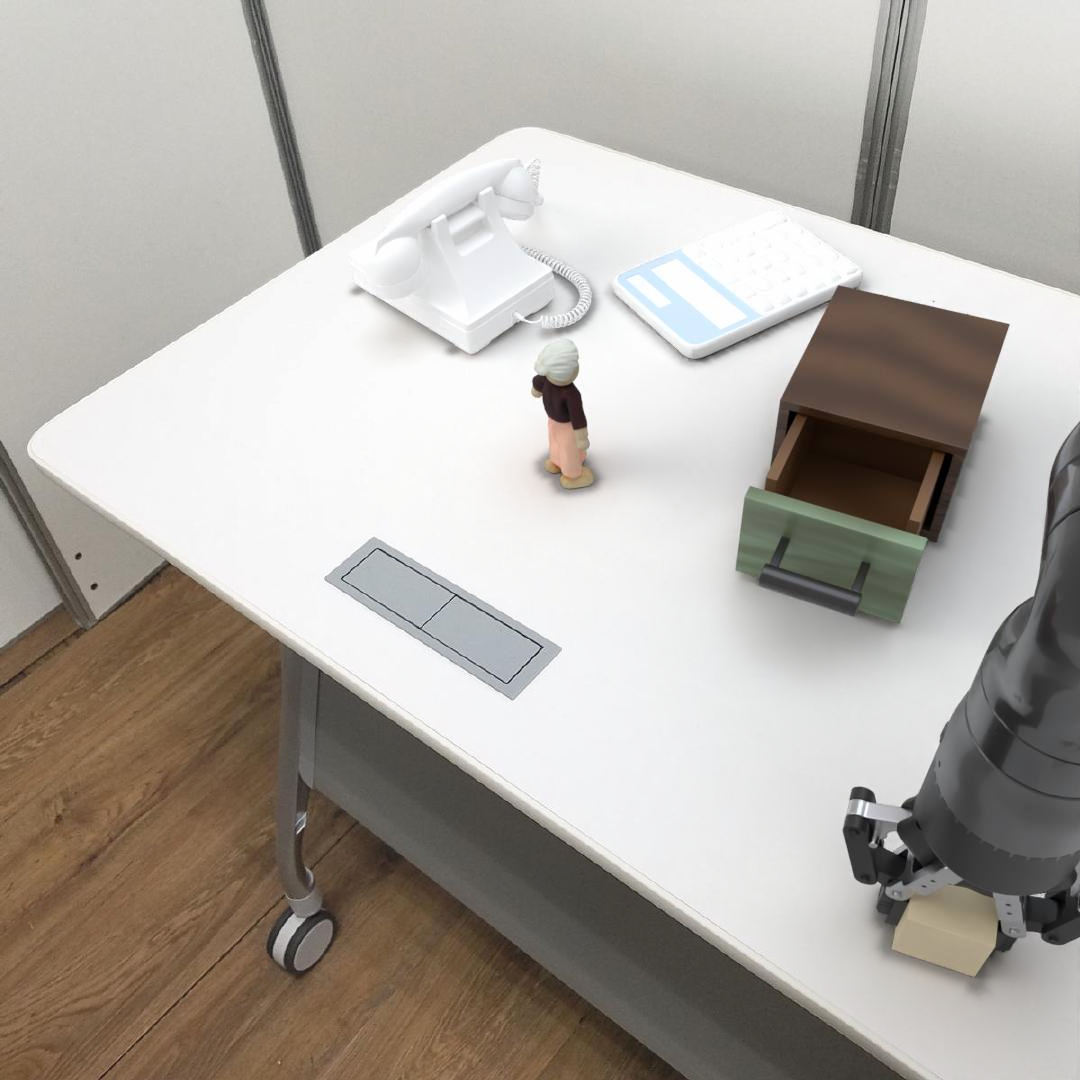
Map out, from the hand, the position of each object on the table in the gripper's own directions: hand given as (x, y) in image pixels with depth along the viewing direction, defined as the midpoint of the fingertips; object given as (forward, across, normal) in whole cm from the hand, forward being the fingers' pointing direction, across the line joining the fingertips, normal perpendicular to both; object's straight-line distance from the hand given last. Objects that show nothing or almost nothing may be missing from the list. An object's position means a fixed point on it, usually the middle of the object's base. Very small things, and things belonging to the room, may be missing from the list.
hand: (940, 924), depth 62 cm
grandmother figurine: (+1, -33, +28) cm, 43 cm away
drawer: (-1, -11, +25) cm, 27 cm away
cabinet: (0, -10, +37) cm, 38 cm away
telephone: (+1, -48, +48) cm, 68 cm away
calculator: (+1, -26, +55) cm, 61 cm away
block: (0, 0, 0) cm, 0 cm away
